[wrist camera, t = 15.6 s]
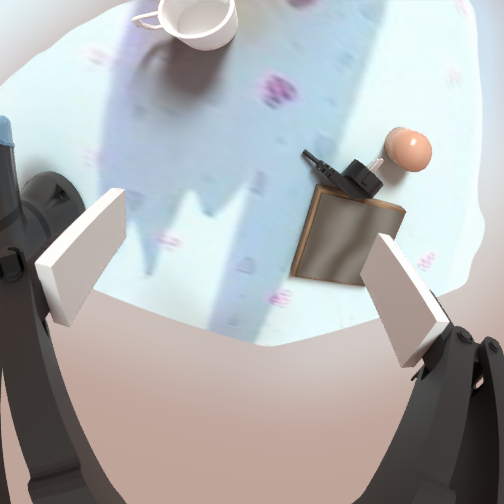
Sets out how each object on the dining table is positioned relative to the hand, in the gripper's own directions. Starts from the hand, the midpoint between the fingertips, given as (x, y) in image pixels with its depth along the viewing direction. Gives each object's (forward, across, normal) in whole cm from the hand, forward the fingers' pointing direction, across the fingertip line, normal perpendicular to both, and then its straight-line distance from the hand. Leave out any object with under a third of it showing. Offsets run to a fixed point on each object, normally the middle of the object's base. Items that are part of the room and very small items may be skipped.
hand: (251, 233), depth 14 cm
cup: (+29, -11, +16) cm, 35 cm away
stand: (+29, +19, -13) cm, 37 cm away
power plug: (+28, +9, +2) cm, 30 cm away
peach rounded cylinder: (+28, +23, +5) cm, 37 cm away
